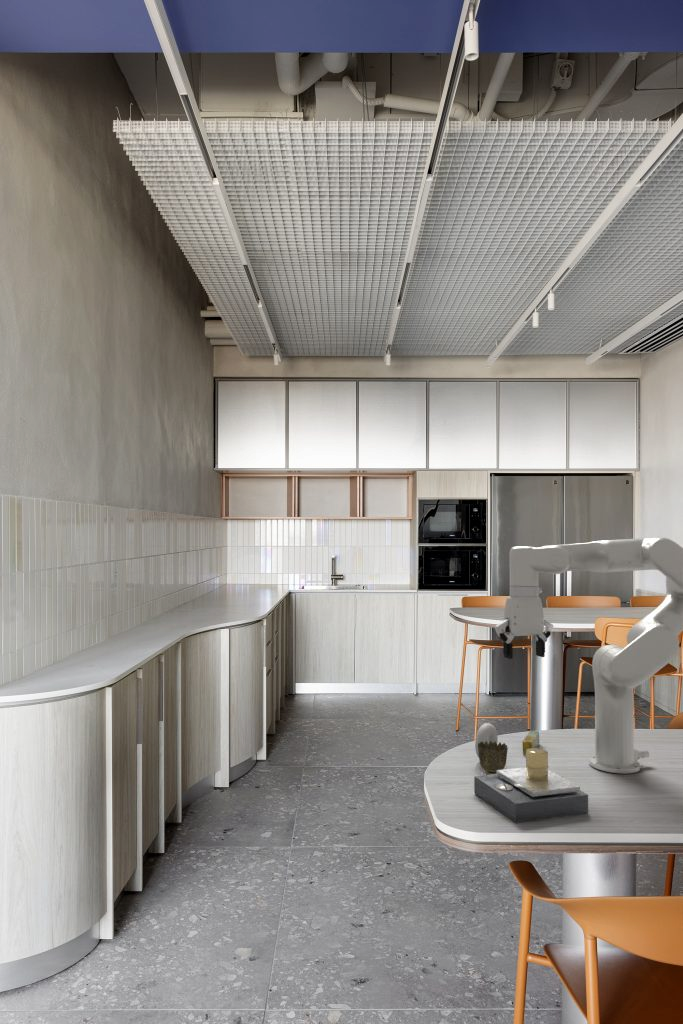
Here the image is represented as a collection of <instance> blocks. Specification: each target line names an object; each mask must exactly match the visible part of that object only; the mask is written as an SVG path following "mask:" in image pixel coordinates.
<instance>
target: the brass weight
mask: <svg viewBox="0 0 683 1024" xmlns="http://www.w3.org/2000/svg"><path fill="white" fill-rule="evenodd" d="M525 767H526V778H527V779H529V780H531V781H536V782H544V781H547V780H548V770H549V752H548V751H547V750H546V749H543V748H539V747H538V748H530V749H527V750H526V755H525Z"/></svg>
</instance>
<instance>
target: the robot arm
mask: <svg viewBox="0 0 683 1024" xmlns="http://www.w3.org/2000/svg"><path fill="white" fill-rule="evenodd" d="M650 570H654V571H659V573H661V574H662V575H663V576H665V586H666V587H665V588H666V589H665V590H666V593H665V597H664V599H663V601H662V602H661V603H660V604H659V605H658V606H656V608H655V609H653V610H652V611H651V612H649V613H648V614H646V616H644V617H643V618H642V619H640V620H639V621H638V622H636V623H635V624H633V626H631V628H630V629H629V630H628V632H627V634H626V642H627V645H626V646H625V647H622V646H619V645H616V644H604V645H603V646H601V647H599V648H598V649H597V650H596V651H595V653H593V654H594V655H593V657H592V662H591V663H592V664H591V666H592V676H593V677H592V678H593V683H594V684H593V686H594V722H595V723H594V726H595V727H594V728H595V729H594V731H595V732H594V733H595V734H594V737H595V738H594V741H595V742H594V743H595V754H594V755H593V756H591V757H590V758H589V760H588V762H589V765H590V766H591V767H592V768H593V769H596V770H600V771H603V772H607V773H612V774H624V775H625V774H635V773H638V772H639V771H641V766H642V765H641V763H640V762H639V760H640V759H646V758H650V752H649V750H647V749H644V750H643V749H642V750H639V749H638V748H635V724H634V723H635V722H634V721H635V719H634V718H635V717H634V715H635V713H634V712H635V711H634V707H635V706H634V699H635V698H634V691H633V688H636V687H638V686H640V685H641V684H643V683H645V682H646V681H647V680H649V679H650V678H651V677H652V676H654V675H655V674H657V673H658V672H659V671H660V670H661V669H662V668H664V667H665V666H667V665H668V664H669V663H670V662H671V661H672V660H674V658H675V657H676V655H677V653H678V651H679V649H680V641H679V637H678V636H679V635H680V634H681V633H683V547H682V546H681V545H680V544H678V543H677V542H675V541H674V540H671V539H670V538H666V537H640V538H639V537H638V538H625V539H624V538H623V539H608V540H596V541H590V542H580V543H566V544H565V543H564V544H554V545H552V544H551V545H543V546H540V547H535V546H528V545H527V546H525V545H524V546H521V545H518V546H512V547H511V548H510V550H509V597H506V599H505V603H504V604H505V605H504V611H503V620H502V621H501V622H499V623H498V624H495V626H494V630H495V633H496V634H497V635H496V636H497V637H498V639H500V640H501V642H502V643H503V647H502V648H503V649H502V650H503V651H502V652H503V653H502V654H503V657H504V658H506V659H508V660H509V659H510V660H512V659H513V658H514V657H513V656H514V655H513V651H514V650H513V649H514V647H513V643H512V641H513V640H514V638H515V637H524V636H525V637H526V636H534V637H536V639H537V640H535V655H536V656H537V657H540V658H545V654H546V642H547V641H548V638H549V637H550V636H551V634H552V631H553V628H554V624H552V623H551V622H549V621H547V620H546V619H545V618H544V610H543V604H542V599H541V597H539V596H540V594H542V592H543V588H542V587H540V586H539V581H540V580H539V577H540V576H539V573H540V574H541V573H543V574H551V575H560V574H563V573H564V572H582V571H583V572H593V573H617V572H618V573H619V572H633V571H636V572H637V571H650Z"/></svg>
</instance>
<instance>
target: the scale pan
mask: <svg viewBox="0 0 683 1024" xmlns="http://www.w3.org/2000/svg"><path fill="white" fill-rule="evenodd" d="M496 771H497V775H498V776H500V777H501V778H503V779H504V780H506V781H508V782H509V783H511V784H512V785H514V786H516V787H517V788H519V789H520V790H522V791H524V792H525V793H527V794H529V795H530V796H532V797H536V796H544V795H552V794H560V793H569V792H577V791H581V786H580V785H578V784H576V783H574V782H572V781H571V780H568V779H566V778H564V777H563V776H561V775H559V774H557V773H555V772H553V771H552V770H550V769H548V780H547V781H544V782H536V781H531V780H529V779H527V778H526V766H524V767H516V768H514V767H513V768H506V769H505V768H504V769H503V770H496Z"/></svg>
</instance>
